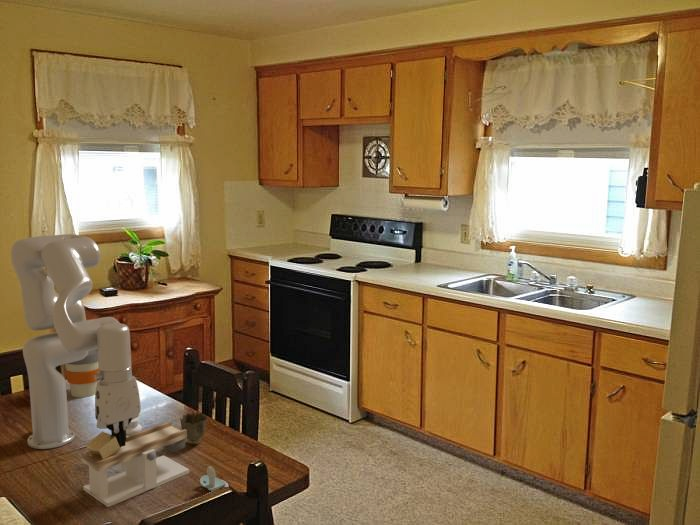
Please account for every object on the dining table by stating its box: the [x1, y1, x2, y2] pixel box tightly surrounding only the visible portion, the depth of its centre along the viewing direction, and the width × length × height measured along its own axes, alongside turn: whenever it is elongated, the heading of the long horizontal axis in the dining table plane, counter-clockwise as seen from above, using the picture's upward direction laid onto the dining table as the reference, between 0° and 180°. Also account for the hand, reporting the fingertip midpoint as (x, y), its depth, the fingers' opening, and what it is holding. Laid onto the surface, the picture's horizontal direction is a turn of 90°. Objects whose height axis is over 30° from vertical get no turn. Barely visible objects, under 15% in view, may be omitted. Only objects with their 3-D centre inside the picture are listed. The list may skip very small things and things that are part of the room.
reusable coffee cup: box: [64, 349, 99, 398], centre depth 228 cm, size 13×13×15 cm
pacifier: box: [199, 465, 229, 492], centre depth 166 cm, size 7×6×6 cm
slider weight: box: [85, 431, 121, 461], centre depth 160 cm, size 5×5×4 cm
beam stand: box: [82, 436, 190, 508], centre depth 168 cm, size 23×14×10 cm, turn 139°
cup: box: [179, 412, 208, 446], centre depth 190 cm, size 8×7×8 cm
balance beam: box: [80, 421, 187, 472], centre depth 168 cm, size 25×8×5 cm, turn 139°
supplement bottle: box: [126, 416, 143, 436], centre depth 184 cm, size 5×5×10 cm
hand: (119, 445), depth 163 cm, fingers closed
